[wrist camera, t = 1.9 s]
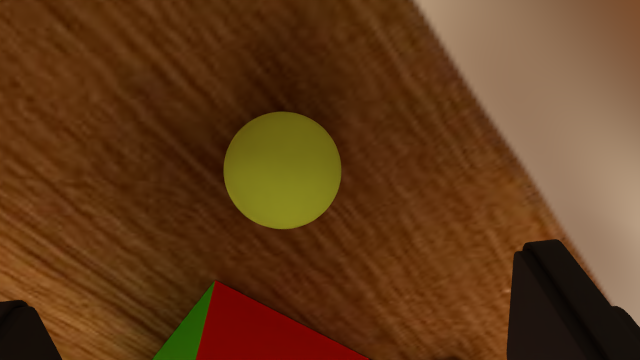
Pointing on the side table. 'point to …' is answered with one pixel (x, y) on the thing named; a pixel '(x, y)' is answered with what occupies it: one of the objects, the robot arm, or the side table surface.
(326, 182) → the ball
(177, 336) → the cube
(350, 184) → the side table surface
